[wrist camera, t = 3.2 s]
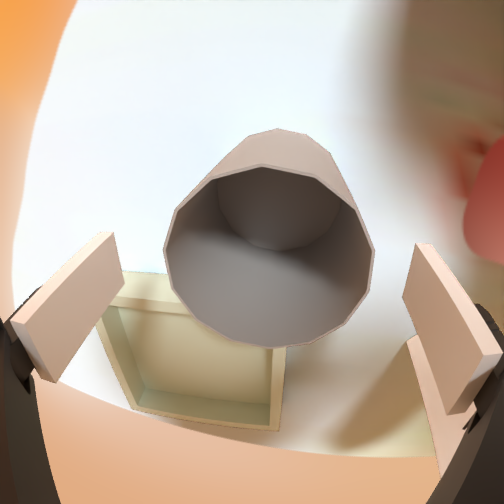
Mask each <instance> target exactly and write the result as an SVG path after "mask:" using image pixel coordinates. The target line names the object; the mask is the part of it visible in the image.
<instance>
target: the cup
mask: <svg viewBox="0 0 504 504" xmlns="http://www.w3.org/2000/svg"><path fill="white" fill-rule="evenodd" d="M163 254H164V258H165V263H166V268H167V272H168V277H169V281H170V286H171V289H172V290H173V292H174V293H175V294H176V296H177V297H178V298H179V300H180V301H181V302H182V304H183V305H184V306H185V308H186V309H187V310H188V311H189V313H190V314H191V315H192V317H193V318H194V319H195V320H196V321H197V322H199V323H201V324H202V325H204V326H205V327H207V328H209V329H210V330H212V331H214V332H215V333H217V334H219V335H220V336H222V337H224V338H225V339H227V340H229V341H232V342H236V343H241V344H246V345H251V346H256V347H261V348H266V349H276V348H284V347H291V346H298V345H305V344H311V343H313V342H314V341H316V340H318V339H320V338H322V337H324V336H325V335H327V334H329V333H331V332H333V331H334V330H336V329H338V328H340V327H341V326H343V325H345V324H346V323H347V321H348V320H349V319H350V318H351V316H352V315H353V314H354V312H355V311H356V309H357V308H358V307H359V305H360V304H361V303H362V301H363V300H364V299H365V297H366V296H367V294H368V293H369V290H370V284H371V277H372V270H373V263H374V256H375V249H374V246H373V244H372V241H371V239H370V236H369V234H368V231H367V229H366V226H365V224H364V222H363V219H362V217H361V214H360V212H359V210H358V207H357V205H356V203H355V201H354V199H353V197H352V195H351V193H350V191H349V189H348V187H347V185H346V183H345V181H344V179H343V177H342V175H341V173H340V171H339V169H338V167H337V165H336V163H335V161H334V160H333V158H332V156H331V154H330V152H328V151H327V150H326V149H325V148H323V147H322V146H321V145H319V144H318V143H317V142H316V141H314V140H313V139H312V138H310V137H309V136H308V135H306V134H301V133H297V132H292V131H287V130H282V129H273V130H269V131H265V132H261V133H257V134H254V135H250V136H248V137H247V138H245V139H244V140H243V141H242V142H241V143H240V144H239V145H237V146H236V147H235V148H234V149H233V150H232V151H231V152H229V153H228V154H227V155H226V156H225V157H224V158H223V159H222V160H221V161H220V162H219V163H218V164H217V165H216V166H215V167H214V168H213V169H212V170H211V171H210V173H209V174H208V175H207V176H206V177H205V178H204V179H203V180H202V181H201V182H200V183H199V184H198V185H197V186H196V187H195V188H194V189H193V190H192V191H191V192H190V193H189V195H188V196H187V197H186V198H185V199H184V200H183V201H182V202H181V203H180V204H179V205H178V206H177V207H176V209H175V210H174V214H173V217H172V220H171V223H170V227H169V230H168V233H167V237H166V240H165V243H164V247H163Z"/></svg>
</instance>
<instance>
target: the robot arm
mask: <svg viewBox="0 0 504 504" xmlns="http://www.w3.org/2000/svg"><path fill="white" fill-rule="evenodd" d="M124 284H125V282H124V278H123V274H122V269H121V265H120V261H119V256H118V252H117V247H116V242H115V237H114V232H99V233H98V234H97V235H96V236H95V237H94V238H93V239H91V240H90V241H89V242H88V243H87V244H86V245H85V246H84V247H83V248H81V249H80V250H79V251H78V252H77V253H76V254H75V255H74V256H73V257H72V258H71V259H70V260H69V261H67V262H66V263H65V264H64V265H63V266H62V267H61V268H60V269H59V270H58V271H57V272H56V273H55V274H54V275H53V276H52V277H51V278H50V279H49V280H48V281H47V282H46V283H45V284H44V285H42V286H41V287H39V288H38V289H36V290H35V291H34V292H33V293H32V294H31V295H30V296H29V298H27V299H26V300H25V301H24V302H23V305H21V306H20V307H19V308H18V309H17V310H16V311H15V312H14V313H13V314H12V315H11V316H10V317H9V318H8V320H7V321H6V322H5V323H4V324H3V322H2V320H1V318H0V504H61V503H60V500H59V497H58V494H57V490H56V487H55V483H54V480H53V476H52V473H51V469H50V465H49V461H48V457H47V453H46V448H45V444H44V439H43V434H42V429H41V424H40V418H39V412H38V406H37V399H36V392H35V384H34V379H33V377H32V375H31V372H32V370H33V369H34V368H35V369H36V371H37V372H38V374H39V375H40V377H41V379H44V380H47V381H50V382H53V383H57V381H58V380H59V378H60V376H61V375H62V373H63V372H64V370H65V369H66V367H67V366H68V364H69V363H70V361H71V360H72V358H73V357H74V355H75V354H76V352H77V351H78V349H79V348H80V346H81V345H82V343H83V342H84V340H85V339H86V337H87V336H88V334H89V333H90V332H91V330H92V329H93V327H94V326H95V324H96V323H97V322H98V320H99V319H100V317H101V316H102V314H103V313H104V312H105V310H106V309H107V308H108V306H109V305H110V303H111V302H112V301H113V299H114V298H115V297H116V295H117V294H118V292H119V291H120V290H121V288H122V287H123V286H124ZM402 298H403V300H404V303H405V305H406V307H407V310H408V312H409V314H410V317H411V319H412V321H413V324H414V326H415V329H416V331H417V334H418V336H419V339H420V341H421V344H422V346H423V349H424V352H425V354H426V357H427V360H428V362H429V365H430V368H431V371H432V373H433V376H434V379H435V382H436V385H437V388H438V391H439V394H440V397H441V400H442V403H443V406H444V409H445V412H446V416H448V415H454V414H460V413H465V412H466V411H467V409H468V408H469V407H470V405H471V404H472V402H473V401H474V404H475V407H476V409H477V410H476V411H475V413H474V414H473V415H472V417H471V418H470V419H469V421H468V422H467V423H466V424H465V426H464V427H463V428H462V429H463V430H465V429H466V428H467V429H466V431H465V433H464V435H463V437H462V440H461V442H460V444H459V446H458V448H457V450H456V452H455V454H454V456H453V458H452V460H451V461H450V463H449V465H448V467H447V469H446V471H445V473H444V474H443V476H442V478H441V480H440V481H439V483H438V485H437V486H436V488H435V490H434V492H433V493H432V495H431V496H430V498H429V500H428V501H427V503H426V504H504V336H503V334H502V332H501V331H499V328H498V326H497V324H496V323H494V322H495V321H494V320H493V318H492V317H491V315H490V314H489V312H488V311H487V310H486V309H484V308H483V307H482V306H481V305H480V304H473V302H472V301H471V299H470V298H469V296H468V295H467V293H466V292H465V290H464V289H463V287H462V286H461V284H460V283H459V282H458V280H457V279H456V277H455V276H454V274H453V273H452V272H451V270H450V269H449V267H448V266H447V265H446V263H445V262H444V261H443V259H442V258H441V257H440V255H439V254H438V253H437V251H436V250H435V249H434V247H433V246H432V245H431V244H424V243H415V247H414V252H413V256H412V260H411V265H410V269H409V273H408V277H407V281H406V285H405V288H404V292H403V296H402Z"/></svg>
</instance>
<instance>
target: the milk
mask: <svg viewBox="0 0 504 504" xmlns="http://www.w3.org/2000/svg"><path fill="white" fill-rule="evenodd" d="M406 342H407V346H408V349H409V352H410V355H411V359H412V362H413V365H414V369H415V372H416V376H417V379H418V383H419V386H420V390H421V394H422V397H423V401H424V405H425V409H426V413H427V417H428V421H429V425H430V430H431V434H432V438H433V443H434V448H435V453H436V457H437V463H438V468H439V473H440V479H441V478H442V476H443V474H444V473H445V471H446V469H447V467H448V465H449V463H450V461H451V460H452V458H453V456H454V454H455V452H456V450H457V448H458V446H459V444H460V442H461V440H462V437H463V435H464V433H465V431H466V429H467V428H466V429H465V430H463V429H462V428H463V427H464V426H465V424H466V423H467V422H468V421H469V419H470V418H471V417H472V415H473V414H474V413H475V411H476V410H477V409H476V407H475V404H474V401H473V402H472V404H471V405H470V407H469V408H468V409H467V411H466V412H465V413H460V414H454V415H448V416H446V412H445V409H444V406H443V403H442V400H441V397H440V394H439V391H438V388H437V385H436V382H435V379H434V376H433V373H432V371H431V368H430V365H429V362H428V360H427V357H426V354H425V352H424V349H423V346H422V344H421V341H420V339H419V336H418V334H417V335H415V336H413V337H412V338H410V339H409V340H407V341H406Z"/></svg>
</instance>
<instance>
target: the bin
mask: <svg viewBox="0 0 504 504" xmlns="http://www.w3.org/2000/svg"><path fill="white" fill-rule="evenodd" d="M122 274H123V278H124V282H125V284H124V286H123V287H122V288H121V290H120V291H119V292H118V294H117V295H116V297H115V298H114V299H113V301H112V302H111V303H110V305H109V306H108V308H107V309H106V310H105V312H104V313H103V314H102V316H101V317H100V319H99V320H98V322H97V323H96V324H95V326H96V329H97V331H98V334H99V336H100V339H101V341H102V344H103V346H104V349H105V351H106V354H107V356H108V358H109V361H110V363H111V365H112V368H113V370H114V372H115V375H116V377H117V379H118V381H119V383H120V386H121V388H122V390H123V392H124V394H125V396H126V398H127V400H128V402H129V404H130V406H131V408H132V409H133V410H138V411H142V412H146V413H151V414H156V415H160V416H165V417H170V418H176V419H181V420H187V421H193V422H199V423H206V424H213V425H220V426H228V427H236V428H246V429H256V430H268V431H279V427H280V417H281V407H282V396H283V385H284V373H285V362H286V349H287V347H284V348H276V349H266V348H261V347H256V346H251V345H246V344H241V343H236V342H232V341H229V340H227V339H225V338H224V337H222V336H220V335H219V334H217V333H215V332H214V331H212V330H210V329H209V328H207V327H205V326H204V325H202V324H201V323H199V322H197V321H196V320H195V319H194V318H193V317H192V315H191V314H190V313H189V311H188V310H187V309H186V308H185V306H184V305H183V304H182V302H181V301H180V300H179V298H178V297H177V296H176V294H175V293H174V292H173V290H172V289H171V286H170V281H169V277H168V274H157V273H144V272H131V271H122Z"/></svg>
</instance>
